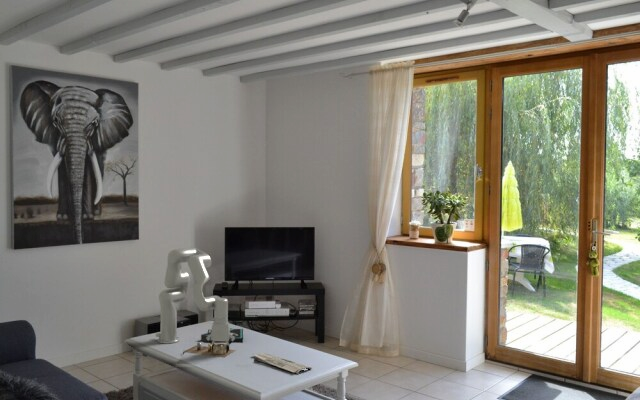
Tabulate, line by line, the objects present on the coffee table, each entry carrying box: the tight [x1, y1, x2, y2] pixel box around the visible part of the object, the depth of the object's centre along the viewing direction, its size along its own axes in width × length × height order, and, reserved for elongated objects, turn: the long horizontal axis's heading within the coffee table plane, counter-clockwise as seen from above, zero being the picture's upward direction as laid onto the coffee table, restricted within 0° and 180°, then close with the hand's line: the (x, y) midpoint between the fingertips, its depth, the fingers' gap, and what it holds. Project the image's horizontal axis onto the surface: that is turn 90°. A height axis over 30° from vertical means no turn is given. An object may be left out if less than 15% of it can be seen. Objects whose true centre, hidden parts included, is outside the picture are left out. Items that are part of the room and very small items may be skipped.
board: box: [182, 342, 237, 358], centre depth 328 cm, size 26×14×5 cm, turn 71°
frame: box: [213, 342, 227, 354], centre depth 326 cm, size 7×7×4 cm
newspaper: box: [253, 352, 313, 375], centre depth 311 cm, size 35×12×4 cm, turn 48°
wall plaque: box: [200, 327, 244, 344], centre depth 357 cm, size 30×4×30 cm
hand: (220, 351), depth 326 cm, fingers closed on frame, 7 cm apart
